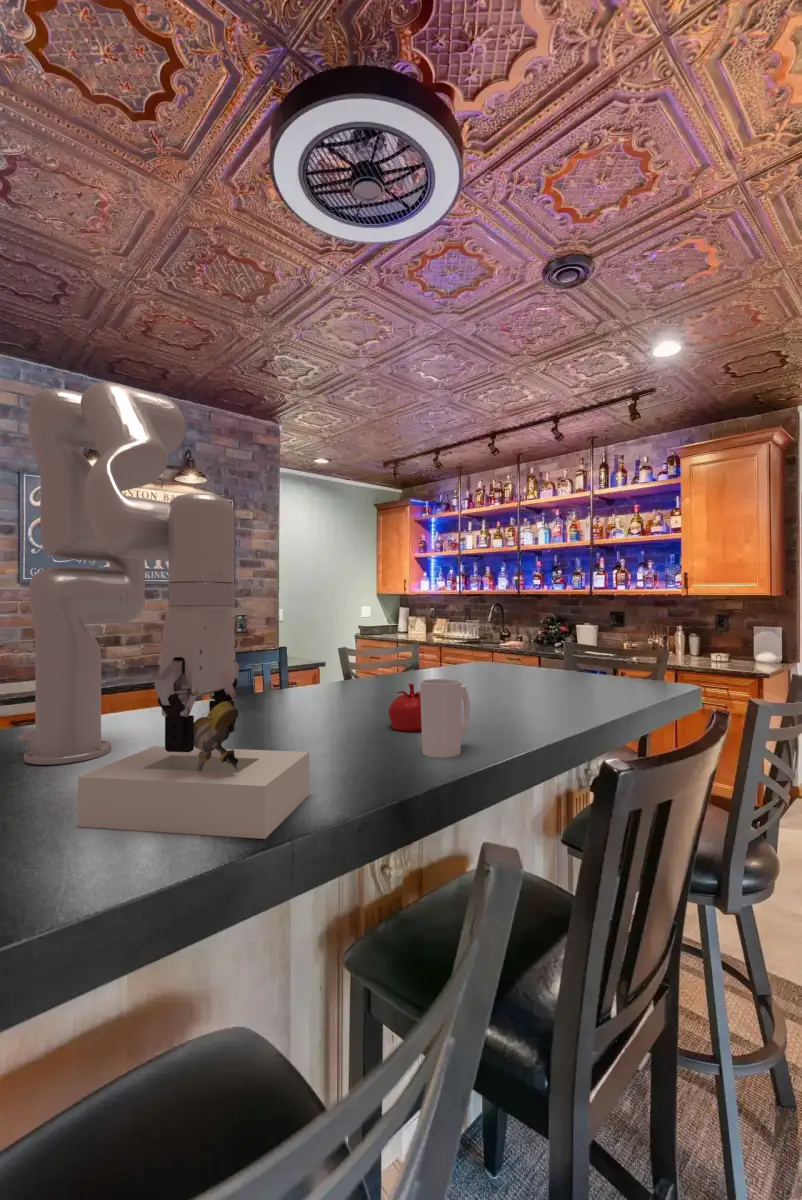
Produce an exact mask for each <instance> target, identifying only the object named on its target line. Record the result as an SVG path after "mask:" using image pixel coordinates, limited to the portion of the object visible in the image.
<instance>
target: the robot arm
mask: <svg viewBox="0 0 802 1200" xmlns="http://www.w3.org/2000/svg"><path fill="white" fill-rule="evenodd" d="M27 420H28V421H27V422H28V423H27V424H28V432H29V433H28V434H29V438H30V444H31V446H32V449H33V450H32V451H33V453H34V456H35V459H36V462H37V465H38V469H39V470H38V471H39V475H40V476H39V478H40V489H39V490H40V493H39V494H40V495H39V496H40V497H39V499H40V500H39V501H40V505H39V506H40V507H39V508H40V510H39V511H40V514H39V515H40V517H39V519H40V521H39V522H40V524H39V526H40V529H39V530H40V540H41V547H42V548H43V550H44V552H45V553H47V554H48V555H49V556H51V557H53V558H54V557H55V558H57V559H59V558H60V559H65V560H66V559H67V560H77V561H91V562H93V561H94V562H107V563H108V565H109V567H110V568H109V569H105V568H102V569H101V568H92V567H89V568H88V567H72V566H60V567H59V566H56V567H51V568H50V567H49V568H45V569H42V570H40V571H39V572H37V573H36V574H34V576H32V578H31V580H30V582H29V585H28V599H29V606H30V611H31V616H32V622H33V631H34V642H35V643H34V644H35V645H34V651H35V652H34V653H35V654H34V655H35V656H34V657H35V658H34V659H35V660H34V661H35V662H34V664H35V682H34V683H35V686H34V687H35V694H34V695H35V704H34V705H35V707H34V708H35V713H34V714H35V716H34V717H35V718H34V719H35V720H34V721H35V725H34V729H33V728H32V729H29V728H28V729H25V730H24V731H23V733H22V734H19V736H17V741H18V743H23V744H28V743H29V749H28V750H27V751H25V752H24V754H23V761H24V763H27V764H31V765H38V766H39V765H40V766H45V765H46V766H47V765H48V766H51V765H53V766H54V765H63V764H73V763H80V762H84V761H89V760H93V759H96V758H99V757H103V756H105V755H107V754H108V753H110V752H111V751H112V743H111V742H109V741H108V740H107V741H106V740H104V739H102V651H101V647H100V644H99V642H98V641H97V639H96V637H94V635H93V634H92V633H91V632H90V630H89V629H88V628H87V627H86V625H90V624H113V623H114V624H117V623H128V622H133V621H134V620H136V619H137V618H139V616H140V615H141V614H142V611H143V608H144V604H145V603H144V602H145V590H146V588H145V587H146V585H145V584H146V583H145V582H146V581H145V580H146V579H145V578H146V577H145V576H146V575H145V574H146V571H145V570H146V560H153V561H165V562H168V567H167V568H168V574H167V576H168V577H167V578H168V588H167V589H168V590H167V591H168V592H167V594H168V596H167V597H168V600H167V601H168V603H167V605H168V607H167V608H168V609H167V610H166V613H165V618H164V622H163V627H162V635H161V646H160V658H159V675H158V677H157V678H156V679H155V680H154V682H153V685H154V688H155V691H156V695H157V697H158V699H157V701H158V705H159V706H160V708H161V715H162V716H163V717H164V747H165V750H166V751H167V752H191V751H193V749H194V748H195V747H194V722H195V721H194V720H195V716H194V715H191V712H192V709H193V706H194V704H195V702H196V699H197V697H202V696H206V695H210V696H211V698H212V700H209V701H208V703H209V707H208V709H209V711H208V713H209V712H210V711H211V710H212V709H213V708H214V707H215V706H217V705H218V704H220V703H222V702H225V701H228V702H230V703H231V704H232V705H233V706H234V707H235V700H236V699H237V692H236V688H237V686H238V675H239V671H240V665H239V663H238V662H237V661H236V641H235V628H234V621H233V620H234V619H233V612H232V611H235V510H234V507H233V504H232V503H231V502H230V501H229V500H228V499H227V498H224V497H222V496H217V495H212V494H206V493H205V494H203V493H187V494H180V495H177V496H175V497H174V498H172V500H171V501H170V502H169V501H162V500H156V499H149V498H143V497H136V496H135V497H134V496H128V495H125V494H124V493H123V492H126V491H128V490H133V489H137V488H140V487H144V486H147V485H149V484H151V483H154V482H155V481H157V480H158V479H159V478H160V477H161V476H162V475H163V474H164V473H165V471H166V469H167V466H168V462H169V455H168V454H170V453H172V452H174V451H176V450H177V449H178V448H179V447H180V446H181V444H182V442H183V441H184V438H185V432H186V424H185V418H184V414H183V413H182V410H181V408H180V407H179V406H178V405H177V404H176V403H175V402H174V401H173V400H171V399H170V398H167V397H165V396H161V395H159V394H155V393H152V392H148V391H146V390H142V389H139V388H135V387H132V386H129V385H125V384H122V383H117V382H112V381H103V382H102V381H101V382H97V383H94V384H91V385H90V386H88V387H87V388H86V389H85V390H84V391H83V392H79V391H74V390H71V389H63V388H53V387H51V388H44V389H41V390H39V391H37V392H36V393H35V394H34V395H33V397H32V399H31V401H30V404H29V409H28V419H27ZM78 447H79V448H85V449H90V450H94V451H97V452H98V455H99V458H98V459H97V460H96V461H95V462H94V464H93V465H92V464H91V462H90V461H89V460H88V459H87V457H86V456H85V455H84V454H83V452H81V450H79V449H78ZM181 699H184V700H183V702H182V701H181ZM209 719H210V718H209ZM210 720H211V719H210ZM227 728H228V729H229V732H230V734H231V733H233V732H235V724H234V722H232V724H231V725H230V726H229V727H227Z"/></svg>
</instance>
